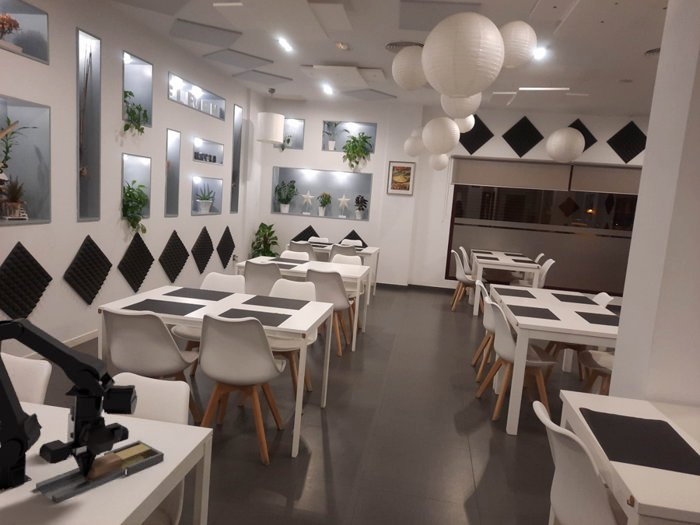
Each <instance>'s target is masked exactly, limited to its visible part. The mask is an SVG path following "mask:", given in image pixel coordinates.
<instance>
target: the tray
mask: <svg viewBox="0 0 700 525" xmlns="http://www.w3.org/2000/svg"><path fill="white" fill-rule="evenodd" d="M140 444H143V445H145V446H146V447H148V448H150V457H149V458H147V459H144V460H142V461H139V462H137V463H134V464H132V465H129V466H127V469H126V475H127V476H131V475H133V474H136V473H138V472H140V471H143V470H145V469H148V468H150V467H152V466H154V465H155V466H156V465H157V464H159V463H162V462H164V460H165V459H164V455H165V453H164V452H162V451H160V450H158V449H156V448H154V447H152V446H150V445H148V444H147V443H145V442H143V441H141V440H137V441H135V442H131V443H129V444H125V445H123V446H119V447H118V448H114V449H112V450H111V451H106V452H104V453H103V456H104V455H107V454H109V453H112V452H113V453H114V454H115V453H118V452H121V451H123V450H126V449H129V448H132V447H134V446H137V445H140Z"/></svg>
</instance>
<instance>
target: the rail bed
mask: <svg viewBox="0 0 700 525" xmlns="http://www.w3.org/2000/svg"><path fill="white" fill-rule="evenodd" d="M126 472H127V469H123V468H119V469H116V470H114V471H111V472H109V473H106V474H104V475H101V476H99V477H96V478H94V479H90V478H89V477H87V476H86V477H84V476H82V474H81V471H80V469H79V467H77V468H76V467H75V468H74V469H71V470H69V471H66V472H63V473H61V474H58V475H55V476H52V477H48V478H47V479H45V480H41V481H39V482H36V483H35V489H36V490H37V491H38V492H40V493H41V494H43V496H45V497H46V498H48V499H49V500H51V502H53V503H54V504H58V503H61V502H63V501H66V500H68V499H70V498H72V497H75V496H77V495H80V494H82V493H85V492H87V491H89V490H93V489H95V488H98V487H99V486H101V485H104V484H106V483H109V482H111V481H113V480H116V479H119V478H121V477H123V476H125V475H126Z"/></svg>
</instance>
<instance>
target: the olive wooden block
mask: <svg viewBox="0 0 700 525" xmlns="http://www.w3.org/2000/svg"><path fill="white" fill-rule="evenodd" d="M115 454H116V455H118V456H120V457H121V458H122V468H123V469H125V470H127V466H129V465H132V464H134V463H136V460H137V454H136V453H134V452H132V451H130V450H129V449H126V450H123V451H121V452H118V453H115Z"/></svg>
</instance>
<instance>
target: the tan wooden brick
mask: <svg viewBox="0 0 700 525" xmlns="http://www.w3.org/2000/svg"><path fill="white" fill-rule="evenodd" d="M119 468H122V458H121V457H120V456H118V455H116V454H114V453H113V452H112V453H109V454H107V455H104V454H103V455H101V456H98V457H96V458H95V459H94V461H93V464H92V466H91V468H90V470H89V473H88V475H87V477H89V478H90V479H94V478H96V477H99V476H101V475H104V474H106V473H109V472H111V471H114V470H116V469H119Z"/></svg>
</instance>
